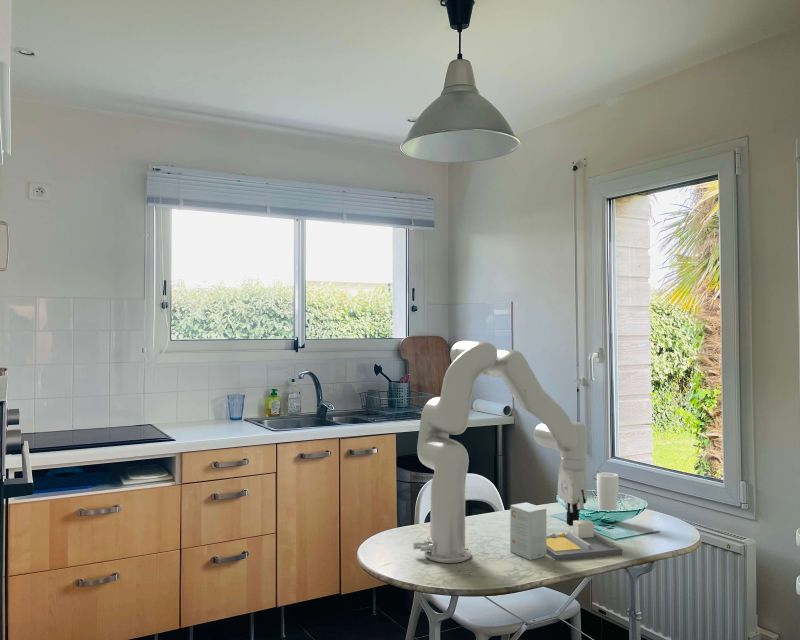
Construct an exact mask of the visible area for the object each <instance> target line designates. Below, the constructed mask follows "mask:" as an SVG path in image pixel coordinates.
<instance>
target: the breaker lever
mask: <svg viewBox="0 0 800 640" xmlns="http://www.w3.org/2000/svg"><path fill="white" fill-rule="evenodd" d="M594 532H595V523H594V521H592V520H590V519H579V520H575V521H573V526H572V534H574V535H576V536H577V537H579V538H588V537H594Z"/></svg>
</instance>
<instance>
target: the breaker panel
mask: <svg viewBox="0 0 800 640" xmlns="http://www.w3.org/2000/svg"><path fill="white" fill-rule="evenodd" d="M546 554H547V556H549V557H551V559H553V560H554V559H555V560H554V561H557V560H558V561H567V559H568V560H575V559H576V560H578V558H579V559H588V558H598V557H609V556H611V557H612V556H622V555H623V549H622V547H620V546H618V545H617V544H615V542H613V541H612V540H609V538H606V537H605V536H603V535H601V534H599V533H598V532H596V531H594V537H588V538H579V537H577V536H576V535H574V534H573V532H571V531H568V532H567V534H566V532H561V531H560V532H559V533H558V534H557V535H556V533H555V532H550V533H549V535H546Z"/></svg>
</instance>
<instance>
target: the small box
mask: <svg viewBox="0 0 800 640" xmlns="http://www.w3.org/2000/svg"><path fill="white" fill-rule="evenodd" d="M509 525H510V528H509V529H510V531H509V532H510V536H509V537H510V542H509V549H510V550H509V551H510V553H513V554H515V555H518V556H520V557H522V558H524V559H527V560H529V561H532V560H536V559H540V558H543V557H547V556H548V554H546V536H547V508H544V507H542V506H538V505H536V504H534V503H533V504H532V503H529V502H528V501H527V502H521V503H515V504H510V523H509Z"/></svg>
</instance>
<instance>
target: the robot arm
mask: <svg viewBox="0 0 800 640" xmlns="http://www.w3.org/2000/svg"><path fill="white" fill-rule="evenodd" d="M451 347H452V348H451V349H450V353H449V355H450V357H449V358H450V359H451V360H450V361H451V362H452V363H451V364H450V365H449V366H448V368H447V370H446V372H445V375H444V377H443V380H442V381H443V382H442V386H441V391H440V396H434V397H432V398H431V399H429V400H428V401H427V402H426V403H425V405H424V406H423V408H422V411H421V415H420V423H419V430H418V436H417V437H418V438H417V445H416V449H417V451H416V453H417V457H418V459H419V462H420V463H421V464H422V465H424V466H425V467H426V468H429V469H431V470H433V471H434V472H433V476H432V479H431V484H430V492H429V493H430V494H429V495H430V515H429V517H430V521H429V522H430V523H429V524H430V525H429V526H430V527H429V528H430V529H429V530H430V531H429V532H430V535H429V536H427V537H426V539H425V540H423V541H413V542H412V548H413V550H420V552H424V556H425V557H426V558H427V559H428V560H430V561H433V562H437V563H445V564H453V563H454V564H456V563H461V562H464V561H467V560H469V559H470V558H471V557H472V555H471V553H472V552H471V550H470V549H469V548H468V547H466V483H467V474H468V471H469V463H470V460H469V454H468V451H467V450H468V449H466V448H465V446H464V445H463V444H462V443H461V442H458V440H455V439H452V438H450V435H453V436H455V435H461V434H462V433H463V434H464V432H465V431H466V429H467V427H468V425H469V422H470V415H471V414H470V413H471V406H472V397H473V391H474V387H475V384H476V382H477V380H478V379H479V377H480V376H481V375H483V376H484V375H485V376H490V377H496V378H501V379H502V380H503V381H504V383H505V385H506V387H507V388H508V390H509V391H510V394H511V395H512V397H513V399H514V401H515V402H516V404H517V405H518V406H519V407H520V408H521V409H522V410H524V411H525V412H527V413H528V414H530V415H532V416H533V417H535V418H536V419H538V420H539V421H540V422H541V423H538V424H537V425H536V427H535V428H534V430H533V439H534V441H535V442H536V443H537V444H538V445H540V446H541V447H544V448H547V449H550V450H555V451H558V452H560V454H559V457H560V458H559V459H560V461H559V462H560V463H559V469H558V475H557V476H558V477H557V478H558V479H557V481H558V482H557V497H558V498H559V499H561V500H562V502H564V504H565V509H566V524H567V525H568V526H569V527H570V526H571V527H573V521H575V520H580V512H581V510H585V509H584V508H585V504H586V503H587V501H588V500H587V499H588V487H587V486H588V483H587V473H586V469H587V426H586V424H585V423H584V422H581V421H580V422H578V421H572V420H571V418H570V416H569V415H568V414H567V413H566V410H564V408H562V406H561V405H559V404H558V402H557V401H556V400H554V399H553V398H552V397H551V395H549V394H548V393H547V392H546V391H545V390H544V389H543V387H542V385H541V383H540V382H539V379H537V376H536V375H535V374H534V371H533V369H532V368H531V365H530V364H529V363H528V362H529V361H527V359H526V357H525V356H524V354H523V353H521V352H520V351H518V350H516V349H510V348H509V349H507V348H497V347H496V346H495V345H494V344H492V343H491V342H488V341H483V340H468V339H467V340H466V339H463V340H460V341H457V342H456V343H454V345H453V346H451Z"/></svg>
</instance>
